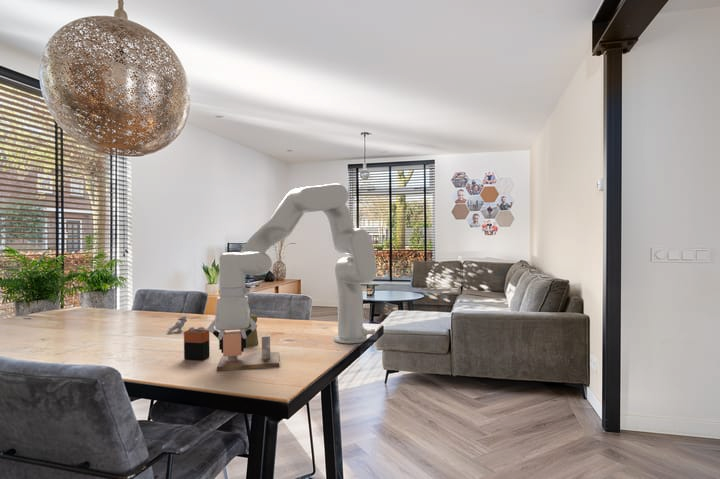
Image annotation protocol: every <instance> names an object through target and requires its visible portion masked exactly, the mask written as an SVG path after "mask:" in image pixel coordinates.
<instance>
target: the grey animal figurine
mask: <svg viewBox="0 0 720 479" xmlns="http://www.w3.org/2000/svg"><path fill="white" fill-rule="evenodd" d="M177 319H178V321H176V322H175V323H174V325H173V326H171V327H169V328H168V330H167V333H168V334H171V333H172V332H174V331H175V330H180V332H182V328H183V327H184V326H185V323H186V322H187V320H188V319H187V316H186V315H185V316H181V317H180V316H179V317H178V318H177Z"/></svg>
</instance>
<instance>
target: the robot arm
mask: <svg viewBox="0 0 720 479" xmlns="http://www.w3.org/2000/svg"><path fill="white" fill-rule="evenodd" d="M348 191H349V190H348V189H347V188H346V187H345V186H344V185H343V184H341V183H336V182H335V183H329V184H323V185H314V186H313V185H312V186H305V187H299V188H293V189H292V190H289V192H288V193H287V194H286V195H285V196H284V198H283V200H281V202H280V203H279V205H278V206H277V208H276V209H275V210H274V212H273V213H272V215H271V216H270V218H269V219H268V220H267V221H266V222H265V223H264V224H263V225H262V226H261V227H260V228H259V229H258V230H257V231H256V232H255V233H254V234H253V235H251V237H250V238H248V240H247V242H246V243H245V244H244V246H243V247H242V248H241V250H240V251H239V252H223V253H221V254H220V255H219V258H218V259H219V296H218V297H217V298H216V304H215V312H214V313H215V314H214V315H215V316H214V319H213V321H212V322H211V323H210V324H209V326H208V327H207V330H208V331H209V333H211V334H213V336H215V337H216V338H217V339H218V346H219V347H218V349H219V350H220V353H221V354H223V334H224V332H225V331H233V330H240V331H241V334H242V339H241V351H242V353H244V351H245V349H246V348H247V347H246V337H247V336H248V335H249V334H250V333H251V332H252V331H253V330H255V329H257V328H258V324H257V322H256V323H255V322H254V321H253V320H252V319H251V317H250V314H251V312H250V302H249V297H248V296H249V295H246V294H249V293H251V289H250V287H246V275H250V276H251V275H252V276H262V275H263V276H264V275H265V274H267V273H268V272H269V271H270V270H271V268H272V265H273V264H272V263H273V261H272V258H271V257H270V255H269V254H267V251H268V250H269V249H270V248H272V246H274V245H275V244H277V243H279V242H281V241H283V240H285V239H286V238H288V237H289V236H290V235H291V234H292V233H293V231H294V229H295V228H296V226H297V225H298V223H299V222H300V220H301V219H302V217H303V216H304V215H305V214H306V213H314V212H321V211H322V212H323V213H324V215H325V216H326V217H327V219H328V222H329V227H330V232H331V236H332V242H333V246H334V249H335V251H337V252H338V253H340V254H345V255H347V256H344V257H341V258H340V259H338V261H337V262H336V263H335V267H334V274H335V279H336V285H337V334H336V335H334V336H333V341H334V342H336V343H338V344H339V343H340V344H359V343H360V344H361V343H364V342H366V341H367V340H368V335H376V329H375V328H372V329H371V328H365V327H364V309H363V308H364V305H363V304H364V302H363V301H364V300H363V299H364V298H363V297H364V293H363V288H362V285H361V284H369V283H372V281H374V280H375V278H376V276H377V271H378V268H377V261H376V256H375V248H374V244H373V239H372V237H371V235H370V233H369V232H368V231H367V230H365V229H364V228H359V227H354V221H353V217H352V214H351V211H350V209H349V208H348V206H347V202H348V200H349V192H348ZM348 255H351V256H348ZM249 324H251V327H250V328H249V329H248V330H247V331H246V328H248V327H249Z"/></svg>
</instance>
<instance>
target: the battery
mask: <svg viewBox="0 0 720 479" xmlns="http://www.w3.org/2000/svg"><path fill="white" fill-rule="evenodd" d="M210 351H211V350H210V331H208V330H207V329H206V328H205V327H203V326H200V327H198V328H195V327H193V326H192V327H189V329H187V330H184V332H183V352H184V353H183V359H184V360H187V361H204V360H206V359H208V358H210V357H211V356H210V355H211V354H210Z"/></svg>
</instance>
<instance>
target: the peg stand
mask: <svg viewBox="0 0 720 479" xmlns="http://www.w3.org/2000/svg"><path fill="white" fill-rule="evenodd" d="M264 368H265V369H266V368H267V369H268V368H280V352H279V351H274V352H271V334H261V352H257V353H243V354H241V355H240V356H224V357H223V355H221V356H220V359H219V360H218V363H217V366H216V372H222V371H223V372H224V371H236V370H237V371H238V370H252V369H264Z"/></svg>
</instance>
